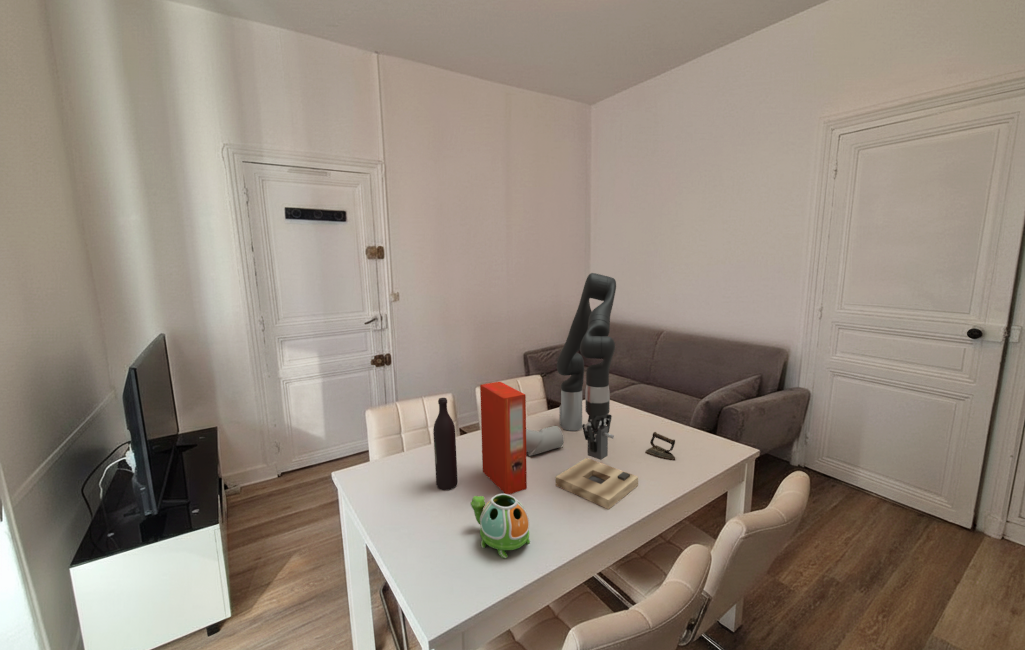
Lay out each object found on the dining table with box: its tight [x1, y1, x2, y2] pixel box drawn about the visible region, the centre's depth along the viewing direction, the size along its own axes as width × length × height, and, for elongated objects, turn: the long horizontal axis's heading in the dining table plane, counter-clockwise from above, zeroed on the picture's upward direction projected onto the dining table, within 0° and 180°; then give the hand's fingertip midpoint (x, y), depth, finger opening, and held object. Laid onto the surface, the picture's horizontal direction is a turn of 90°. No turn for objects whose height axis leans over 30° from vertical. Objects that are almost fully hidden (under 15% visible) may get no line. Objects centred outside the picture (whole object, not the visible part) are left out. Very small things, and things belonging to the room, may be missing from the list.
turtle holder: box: [470, 493, 531, 559], centre depth 109 cm, size 12×18×12 cm
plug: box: [587, 425, 615, 461], centre depth 132 cm, size 8×4×10 cm, turn 46°
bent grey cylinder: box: [526, 425, 565, 457], centre depth 162 cm, size 18×10×20 cm
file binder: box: [479, 381, 528, 495], centre depth 137 cm, size 8×17×32 cm, turn 29°
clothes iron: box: [644, 431, 676, 461], centre depth 154 cm, size 7×11×10 cm, turn 38°
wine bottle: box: [432, 397, 458, 491], centre depth 135 cm, size 7×7×30 cm
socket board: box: [554, 457, 639, 510], centre depth 135 cm, size 20×18×4 cm
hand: (597, 448), depth 133 cm, fingers closed on plug, 4 cm apart
